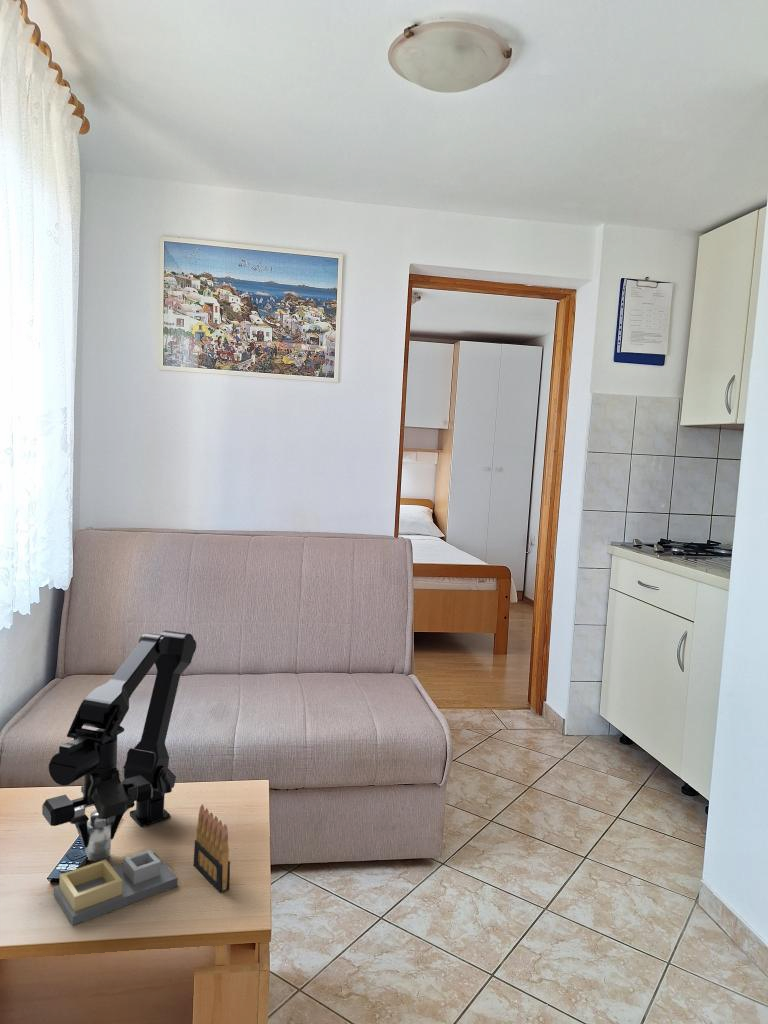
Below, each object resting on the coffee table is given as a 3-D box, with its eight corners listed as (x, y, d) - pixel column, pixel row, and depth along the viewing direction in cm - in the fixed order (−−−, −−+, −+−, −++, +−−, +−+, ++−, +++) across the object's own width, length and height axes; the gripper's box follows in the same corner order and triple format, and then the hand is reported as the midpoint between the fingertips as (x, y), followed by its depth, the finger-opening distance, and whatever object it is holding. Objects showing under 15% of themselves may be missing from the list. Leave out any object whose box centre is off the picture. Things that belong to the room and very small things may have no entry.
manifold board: (53, 894, 121) (54, 872, 121) (154, 860, 133) (154, 839, 133) (72, 925, 114) (73, 901, 114) (177, 885, 126) (178, 864, 125)
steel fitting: (82, 852, 133) (83, 811, 133) (105, 845, 136) (106, 805, 136) (90, 863, 130) (91, 821, 129) (113, 855, 133) (115, 814, 132)
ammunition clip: (229, 889, 125) (232, 825, 125) (220, 893, 124) (223, 828, 123) (202, 862, 134) (204, 801, 133) (193, 865, 132) (195, 803, 131)
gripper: (61, 792, 120) (59, 880, 121) (166, 765, 132) (163, 845, 133) (42, 768, 128) (40, 851, 129) (142, 745, 140) (139, 821, 141)
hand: (98, 842), depth 133 cm, fingers closed on steel fitting, 4 cm apart
